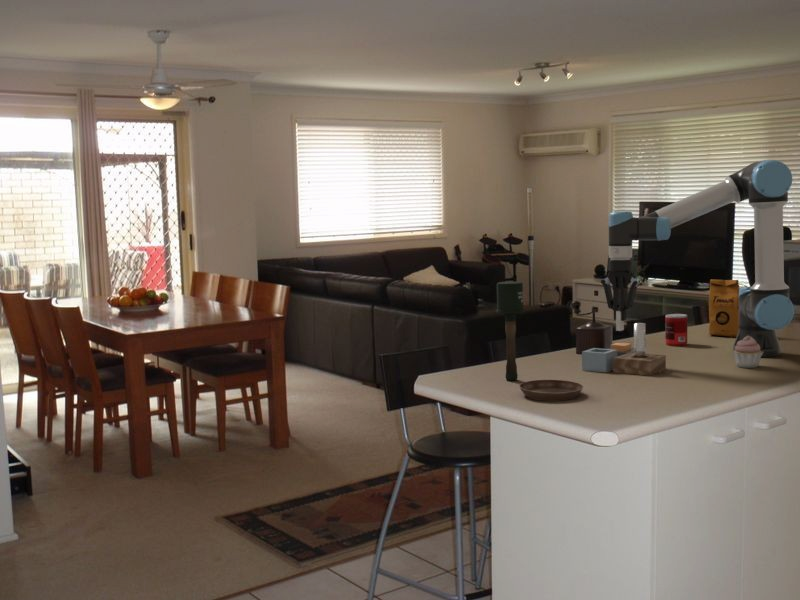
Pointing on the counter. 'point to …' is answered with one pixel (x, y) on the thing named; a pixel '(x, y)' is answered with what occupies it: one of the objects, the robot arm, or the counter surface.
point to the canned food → (676, 329)
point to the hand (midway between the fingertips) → (619, 330)
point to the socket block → (640, 364)
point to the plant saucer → (551, 389)
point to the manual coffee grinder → (591, 332)
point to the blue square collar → (598, 359)
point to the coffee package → (724, 308)
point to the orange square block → (621, 346)
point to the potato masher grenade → (510, 319)
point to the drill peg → (639, 340)
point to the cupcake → (747, 353)
